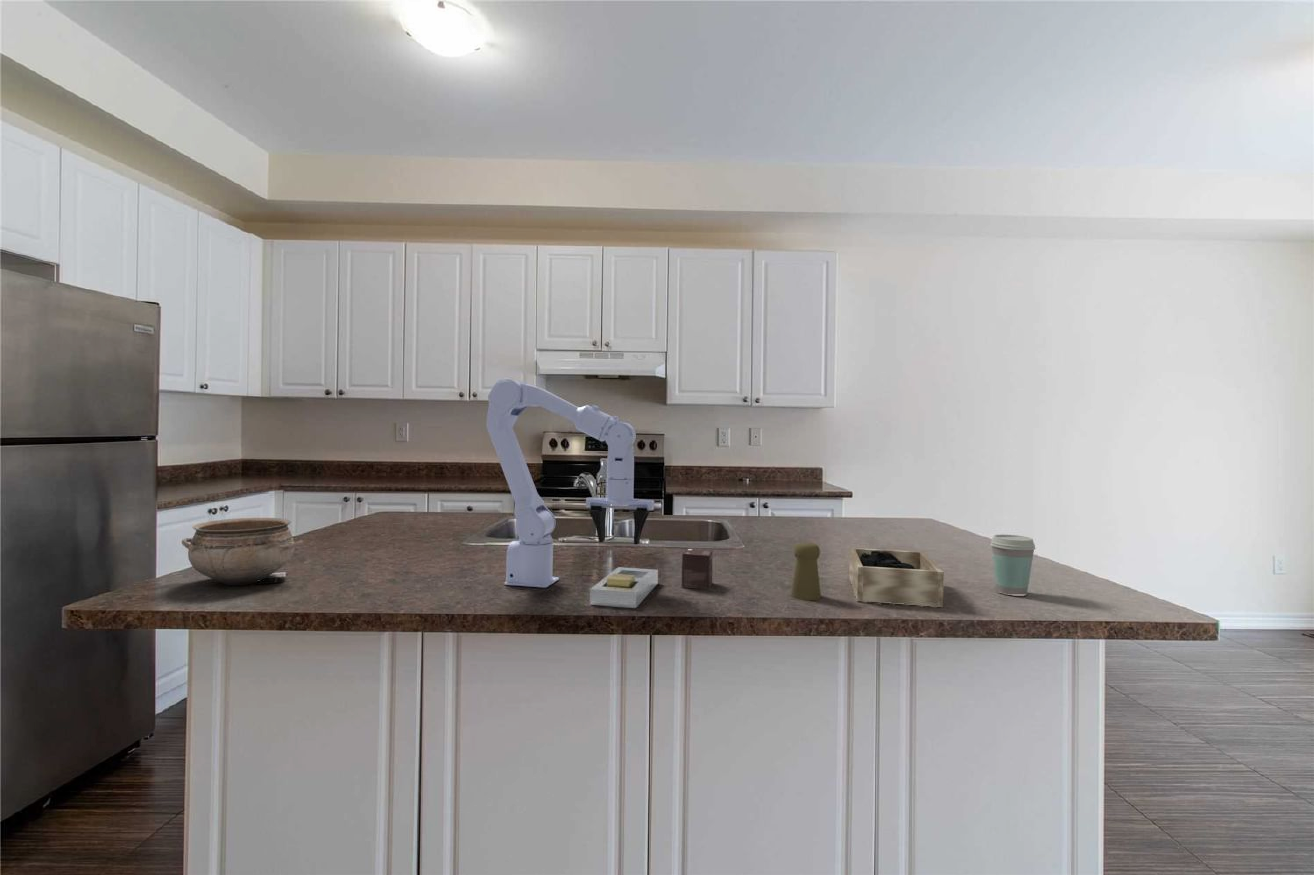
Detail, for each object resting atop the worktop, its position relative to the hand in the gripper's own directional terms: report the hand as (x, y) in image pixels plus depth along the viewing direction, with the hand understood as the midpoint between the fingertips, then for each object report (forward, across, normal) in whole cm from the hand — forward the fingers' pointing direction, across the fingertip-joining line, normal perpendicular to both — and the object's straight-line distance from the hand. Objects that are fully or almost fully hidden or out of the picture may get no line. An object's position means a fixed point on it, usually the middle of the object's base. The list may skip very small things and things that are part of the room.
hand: (619, 542), depth 141 cm
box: (+10, +16, +6) cm, 20 cm away
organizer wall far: (+9, +57, +22) cm, 62 cm away
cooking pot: (+10, -77, -18) cm, 80 cm away
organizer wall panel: (+9, +50, +12) cm, 52 cm away
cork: (+10, +39, +3) cm, 40 cm away
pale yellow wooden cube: (+10, +3, -9) cm, 14 cm away
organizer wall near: (+9, +57, +2) cm, 58 cm away
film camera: (+10, +57, +10) cm, 58 cm away
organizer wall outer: (+9, +64, +12) cm, 66 cm away
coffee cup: (+10, +82, +18) cm, 84 cm away
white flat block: (+9, +3, -5) cm, 11 cm away
